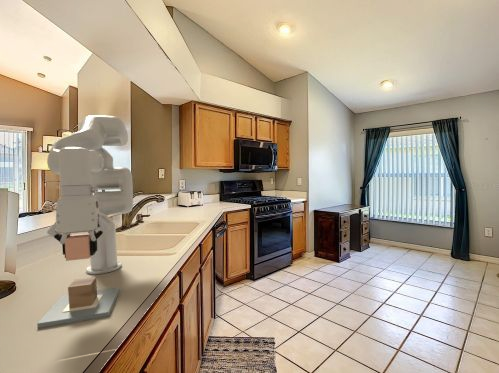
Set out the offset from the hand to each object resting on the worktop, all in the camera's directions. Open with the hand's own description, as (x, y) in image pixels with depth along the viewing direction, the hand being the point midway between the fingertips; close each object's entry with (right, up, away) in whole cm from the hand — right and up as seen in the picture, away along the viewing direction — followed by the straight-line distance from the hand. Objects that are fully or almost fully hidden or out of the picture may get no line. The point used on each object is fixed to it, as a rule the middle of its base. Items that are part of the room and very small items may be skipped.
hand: (80, 254), depth 74 cm
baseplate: (0, -15, +1) cm, 15 cm away
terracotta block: (0, -1, 0) cm, 1 cm away
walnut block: (0, -14, +1) cm, 14 cm away
